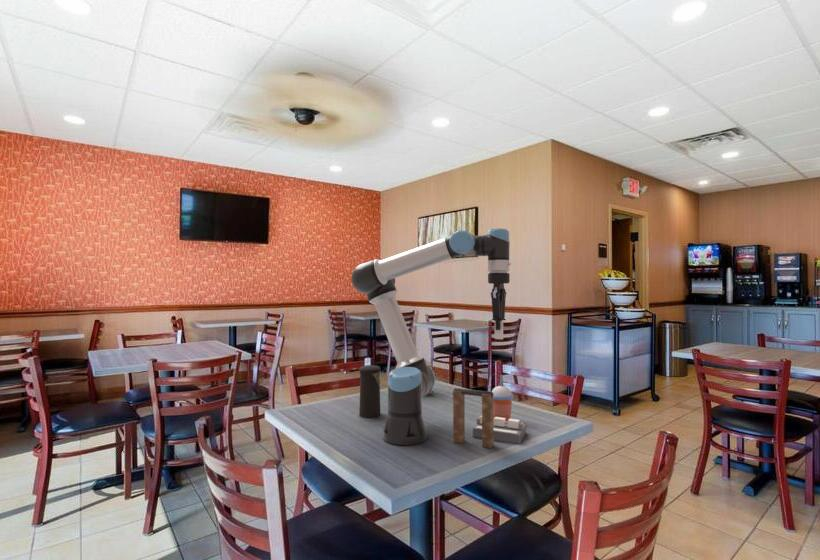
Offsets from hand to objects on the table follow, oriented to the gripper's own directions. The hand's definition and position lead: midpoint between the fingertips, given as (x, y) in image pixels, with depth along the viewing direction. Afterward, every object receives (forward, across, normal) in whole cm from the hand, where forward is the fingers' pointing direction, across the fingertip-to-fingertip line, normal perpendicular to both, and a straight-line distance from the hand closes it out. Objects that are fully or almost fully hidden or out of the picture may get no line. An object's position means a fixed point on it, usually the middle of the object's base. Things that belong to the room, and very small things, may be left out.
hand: (498, 338), depth 153 cm
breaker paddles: (+30, 0, 0) cm, 30 cm away
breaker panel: (+34, 0, 0) cm, 34 cm away
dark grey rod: (+18, -12, +6) cm, 22 cm away
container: (+34, +1, +54) cm, 64 cm away
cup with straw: (+34, +15, +3) cm, 37 cm away
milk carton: (+34, +43, +52) cm, 76 cm away
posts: (+34, -12, +6) cm, 36 cm away
